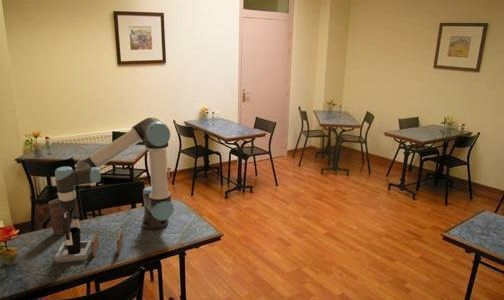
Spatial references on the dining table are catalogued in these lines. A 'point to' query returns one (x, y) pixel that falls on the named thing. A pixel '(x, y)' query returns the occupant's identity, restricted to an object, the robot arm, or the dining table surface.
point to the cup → (74, 241)
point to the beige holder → (96, 243)
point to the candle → (56, 216)
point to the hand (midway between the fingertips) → (73, 237)
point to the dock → (65, 257)
